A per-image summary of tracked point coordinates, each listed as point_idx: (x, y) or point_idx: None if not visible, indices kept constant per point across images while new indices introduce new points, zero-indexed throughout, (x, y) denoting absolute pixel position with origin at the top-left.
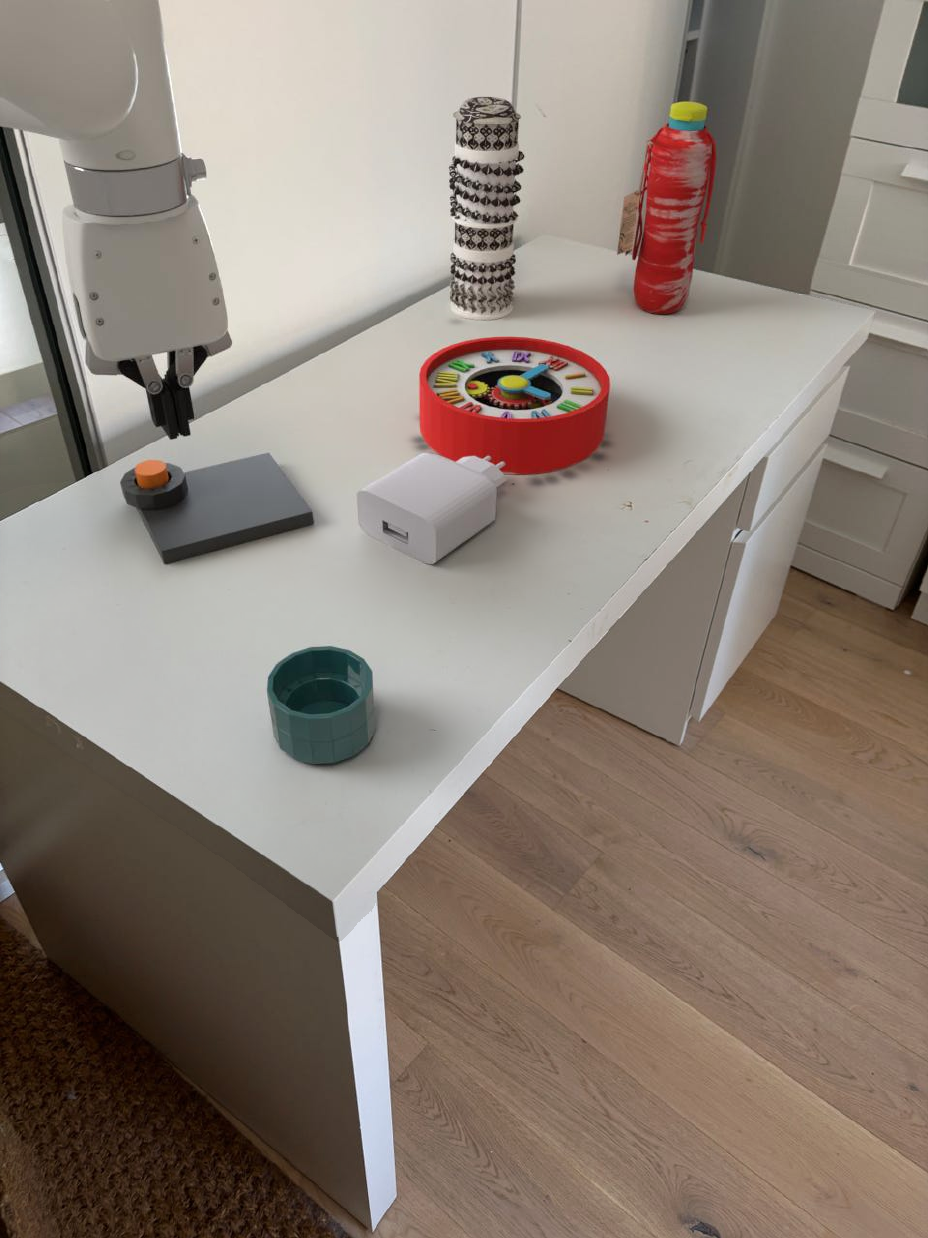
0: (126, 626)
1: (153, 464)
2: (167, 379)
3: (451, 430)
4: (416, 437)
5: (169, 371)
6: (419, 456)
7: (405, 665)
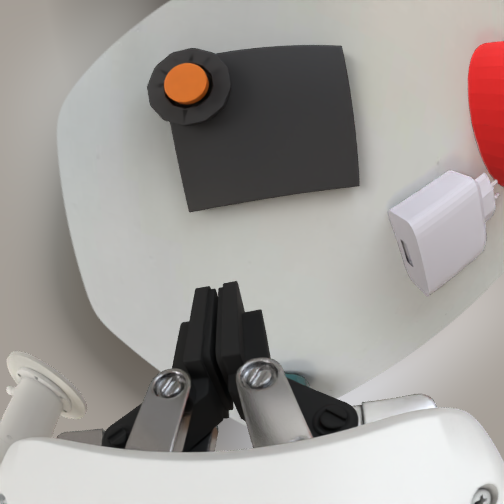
0: (160, 286)
1: (190, 76)
2: (228, 375)
3: (496, 141)
4: (464, 83)
5: (238, 404)
6: (471, 189)
7: (342, 356)
